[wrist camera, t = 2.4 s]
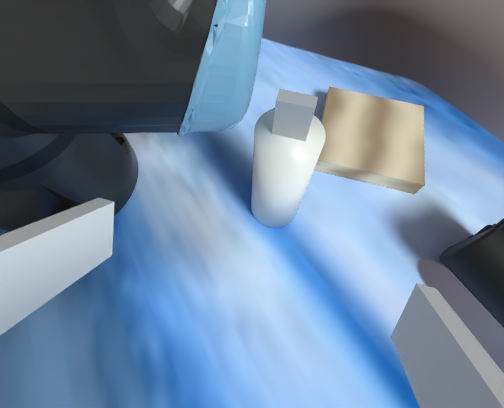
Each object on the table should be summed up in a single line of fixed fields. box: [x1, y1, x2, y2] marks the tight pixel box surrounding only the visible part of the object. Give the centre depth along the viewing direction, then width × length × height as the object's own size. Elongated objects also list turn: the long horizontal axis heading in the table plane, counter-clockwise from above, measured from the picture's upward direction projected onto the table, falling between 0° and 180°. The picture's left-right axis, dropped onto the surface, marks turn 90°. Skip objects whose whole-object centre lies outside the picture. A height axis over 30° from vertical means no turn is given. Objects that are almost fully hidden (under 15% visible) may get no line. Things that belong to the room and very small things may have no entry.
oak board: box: [314, 87, 425, 194], centre depth 33 cm, size 12×12×2 cm
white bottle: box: [251, 89, 326, 228], centre depth 23 cm, size 5×5×15 cm
